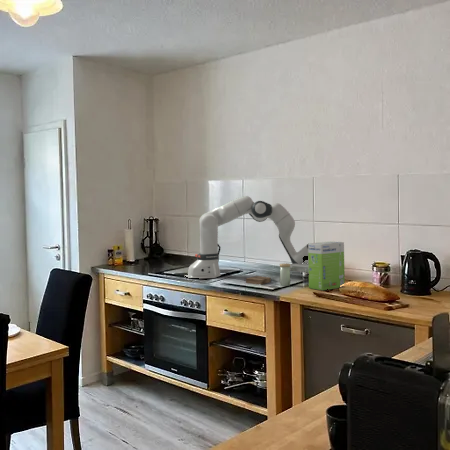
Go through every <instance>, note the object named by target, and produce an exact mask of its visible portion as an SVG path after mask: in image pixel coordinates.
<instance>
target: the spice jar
mask: <svg viewBox="0 0 450 450" xmlns="http://www.w3.org/2000/svg"><path fill="white" fill-rule="evenodd" d="M290 264H291V263H285V262H284V263H279V277H280V278H279V279H280V281H279V284H280V286H281V287H289V286H291V271H290Z"/></svg>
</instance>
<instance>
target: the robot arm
mask: <svg viewBox="0 0 450 450" xmlns="http://www.w3.org/2000/svg"><path fill="white" fill-rule="evenodd" d="M247 214H248V215H249V216H250V217H251V218H252V219H253V220H254V221H256V222H258V223H261V222H265V221H266V220H267V219H270V220H271V221H272V222H273V224H274V225H275V226H276V227H277V229H278V239H279V241H280V242H281V244H282V246H283V248H284V250H285V251H286V253H287V255H288V257H289V259H290V262H291V263H289V264H290V272H298V273H300V272H301V273H304V272H306V273H309V260H305V261H304V262H305V263H304V262H303V260H302V258H303V257H304V256H308V244H306V245H305V246H303V247H302V248H301V249H300V250H299V251H297V250H296V249H295V247H294V245H293V243H292V242H291V236H292V234H293V231H294V230H295V225H296V221H295V219H294V217H293V216H292V215H291V213H290V212H289V211H288V210H287V209H286V207H284V205H282V204H280V203H278V202H277V203H276V202H275V203H273V204H270V203H268V202H266V201H264V200H257V201H255V202H254V201H253V199H252V197H250V196H248V195H245V196H241V197H238V198H235V199H233V200H231V201H229V202H227V203H225V204H223V205H221V206H218V207H216V208H213V209H211V210H209V211H207V212H205V213H203V214H202V215H201V216H199V221H198V222H199V253H198V254H197V253H195V254H194V257H195V258H196V259H197V260H195V261H194V262H192V263H191V264H190V265H189V267H188V271H187V274H188V275H185V274H184V277H185V276H186V277H188V278H187V279H189V278H199V279H215V278H217V277H220V276H222V274H221V270H220V265H219V261H220V253H218V250H219V247H218V244H219V243H218V242H219V241H218V238H219V237H218V236H219V235H218V234H219V231H218V230H219V227H220V226H223V225H225V224H228V223H230V222H232V221H235V220H236V219H238V218H240V217H242V216H244V215H247ZM302 263H303V264H302ZM307 263H308V264H307ZM186 277H185V278H186Z"/></svg>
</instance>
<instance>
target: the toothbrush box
mask: <svg viewBox="0 0 450 450" xmlns="http://www.w3.org/2000/svg"><path fill="white" fill-rule="evenodd" d="M344 243H345V242H342V241H322V242H309V243H308V259H309V275H308V289H311V290H318V291H327V289H328V290H333V289H335V290H336V289H340V288H339V287H340V285H342V284H344V283H345V284H346V282H345V281H346V279H345V275H346V274H345V244H344Z"/></svg>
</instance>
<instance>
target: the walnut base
mask: <svg viewBox="0 0 450 450" xmlns="http://www.w3.org/2000/svg"><path fill="white" fill-rule="evenodd" d="M271 281H272V279H271V277H266V276H259V275H256V276H251V277H246V278H245V283H246V284H253V285H259V284H261V285H264V284H268V283H271Z"/></svg>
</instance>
